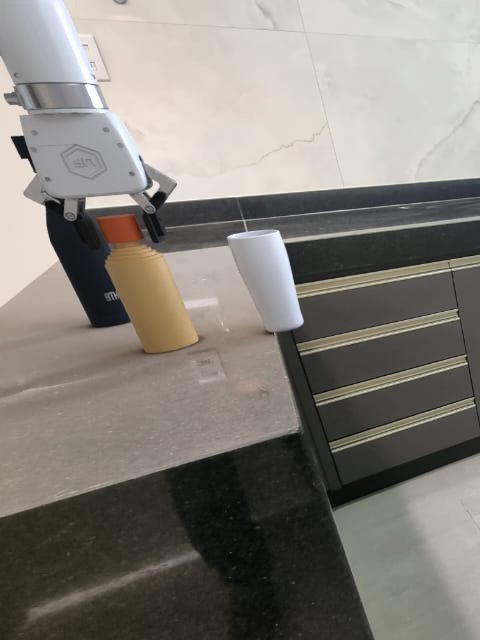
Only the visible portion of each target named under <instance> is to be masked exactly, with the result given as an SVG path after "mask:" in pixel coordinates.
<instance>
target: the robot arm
mask: <svg viewBox="0 0 480 640" xmlns="http://www.w3.org/2000/svg"><path fill="white" fill-rule="evenodd" d="M0 57H1V59H2V61H3V64H4V66H5V68H6V70H7V72H8V74H9V76H10V78H11V80H12V83H13V85H14V86H13V85H12V87H13V91H11V92H4V93H3V98H4V100H5V102H6V103H7V104H8V105H9V106H18V107H21V108H22V109H23V110H24V111H26V113H27V114H20V115H19V121H20V126H21V130H22V135H23V136H24V138H25V141H26V144H27V147H28V150H29V153H30V156H31V159H32V161H33V164H34V167H35V169H36V172H37V173H35V175H34V176H33V178H32V179H31V181H30V182H29V184H28V185H27V186H26V188H25V189H24V190H23V192H22V194H23V196H24V197H25V198H27V199H29V200H31V201H33V202H34V203H37V204H39V205H41V206H43V207H46V208H48V209H50V210H52V211H54V212H56V213H58V214H60V215H62V216H64V217H65V218H66V219H67V220H70V221H72V223H73V225H74V227H75V229H76V231H77V233H78V235H79V238H80V240H81V242H82V243H83V244H87V245H88V247H89V249H90V250H97V249H99V248H101V247H103V246H104V243H103V240H102V238H101V236H100V234H99V232H98V230H97V228H96V225H97V224H96V222H95V221H94V219H93V218H92V217H91V216H90V217H87V215H86V214H85V212H86V203H87V198H98V197H110V196H123V195H129V196H130V198H131V199H133V201H134V202H135V203H137V205H138V206H139V207H140V208H141V209H142V212H143V213H142V215H141V218H142V220H143V223H144V225H145V228H146V231H147V232H148V234H149V237H150V240H151V241H152V243H153V244H161V243H163V242H164V241H165V240H166V238H165V237H166V236H167V235H168V232H167V229H166V227H165V224H164V221H163V219H162V217H161V214H160V212H159V211H160V210H161V209H162V207H163V206H164V204H165V203H166V202H167V200H168V198H169V197H170V195H171V194H172V193H173V191H174V190H175V189H176V187H177V186H178V181H176V180H175V179H173V178H171V177H170V176H168V175H166V174H164V173H163V172H161V171H159V170H157V169H156V168H154V167H152V166H151V165H149V164H148V163H146V161H145V159H144V158H143V155H142V153H141V152H140V150H139V147H138V145H137V144H136V142H135V140H134V139H133V137H132V135H131V134H130V131H129V130H128V128H127V126H126V124H125V123H124V122H123V120H122V119H121V117H120V116H119V114H118V113H117V112H111V111H110V108H109V106H108V103H107V101H106V98H105V96H104V94H103V93H104V92H103V91H102V89H101V87H100V85H99V82H98V80H97V77H96V74H95V72H94V70H93V67H92V65H91V63H90V59H89V58H88V54H87V52H86V51H85V48H84V45H83V42H82V41H81V39H80V36H79V34H78V31H77V28H76V27H75V23H74V21H73V19H72V16H71V14H70V11H69V10H68V8H67V6H66V3H65V2H64V0H0ZM154 182H156V183H157V184H158V186H159V187H158V189H157V190H156V191H155V192H154V193H153V195H152V196H151V195H150V194H149V192H148V190H150V189H152V188H153V186H154ZM45 191H46V192H47V193H48V194H49V195H50V196H49V195H47V194H46V192H45ZM51 196H53V197H56V198H62V199H65V203H64V202H62V201H60V200H57V199H54V198H52V197H51ZM46 208H45V209H46ZM94 222H95V223H94ZM95 224H96V225H95Z"/></svg>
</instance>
